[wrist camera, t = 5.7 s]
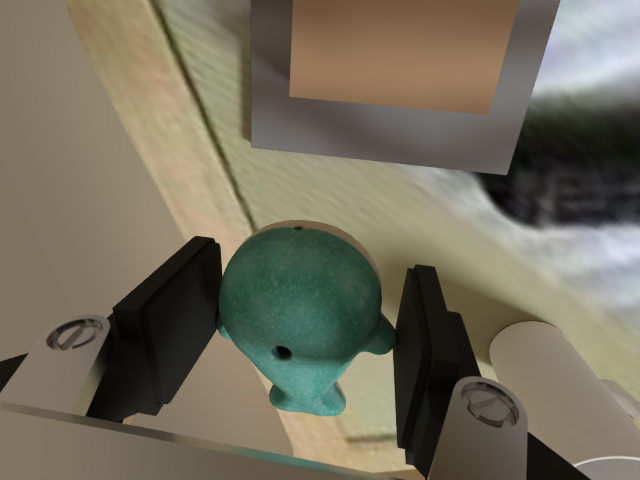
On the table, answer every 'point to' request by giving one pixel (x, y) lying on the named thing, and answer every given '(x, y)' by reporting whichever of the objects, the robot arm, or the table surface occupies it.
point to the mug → (569, 401)
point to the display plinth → (391, 120)
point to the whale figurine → (303, 311)
